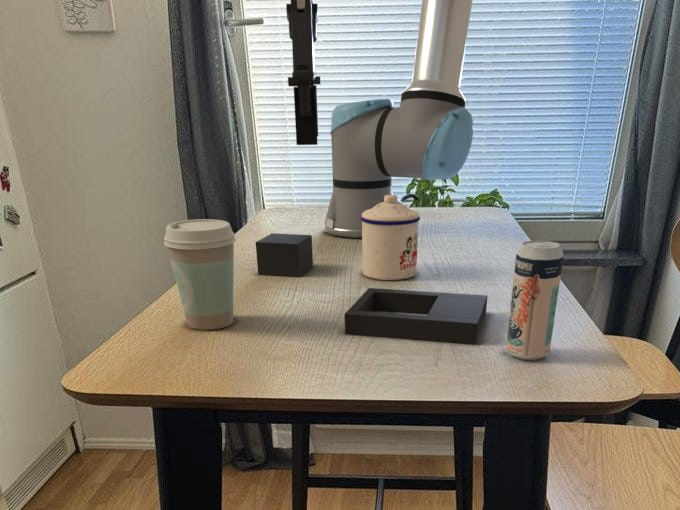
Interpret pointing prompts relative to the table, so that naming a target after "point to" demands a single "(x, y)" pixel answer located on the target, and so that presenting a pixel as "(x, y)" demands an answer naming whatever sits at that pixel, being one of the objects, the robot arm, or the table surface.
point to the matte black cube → (284, 254)
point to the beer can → (534, 299)
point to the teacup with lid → (389, 240)
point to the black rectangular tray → (439, 325)
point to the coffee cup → (203, 270)
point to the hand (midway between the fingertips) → (308, 140)
